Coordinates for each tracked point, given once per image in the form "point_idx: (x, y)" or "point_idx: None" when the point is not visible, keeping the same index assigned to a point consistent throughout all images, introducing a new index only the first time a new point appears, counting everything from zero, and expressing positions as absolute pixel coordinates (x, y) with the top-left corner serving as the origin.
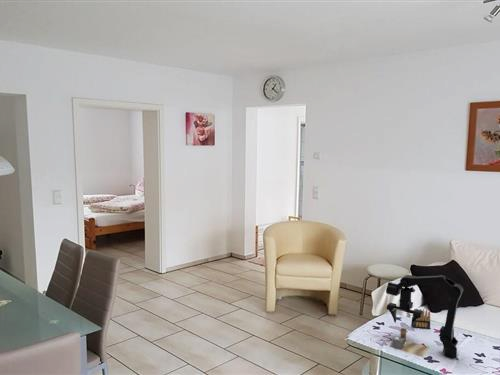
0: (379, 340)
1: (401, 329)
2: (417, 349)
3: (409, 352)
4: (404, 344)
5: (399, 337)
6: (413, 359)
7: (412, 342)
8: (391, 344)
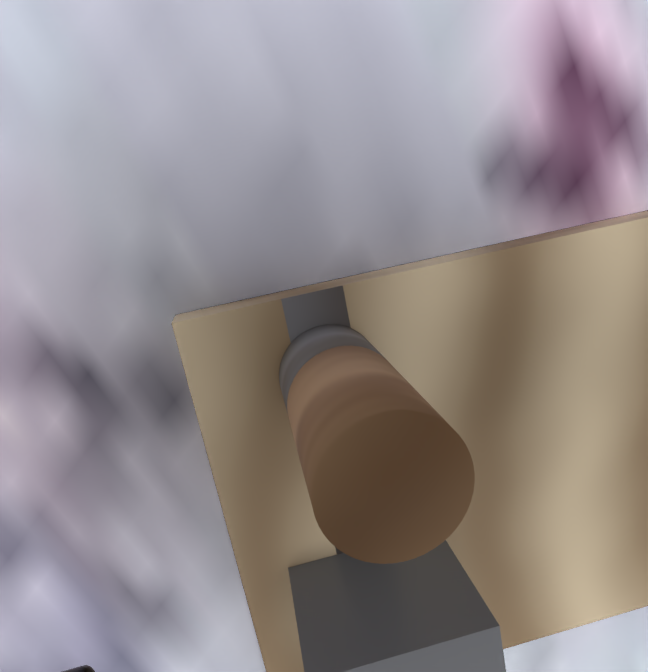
0: (2, 594)
1: (354, 543)
2: (625, 437)
3: (576, 618)
4: None
5: (404, 669)
6: (640, 653)
7: (467, 261)
8: (267, 632)
